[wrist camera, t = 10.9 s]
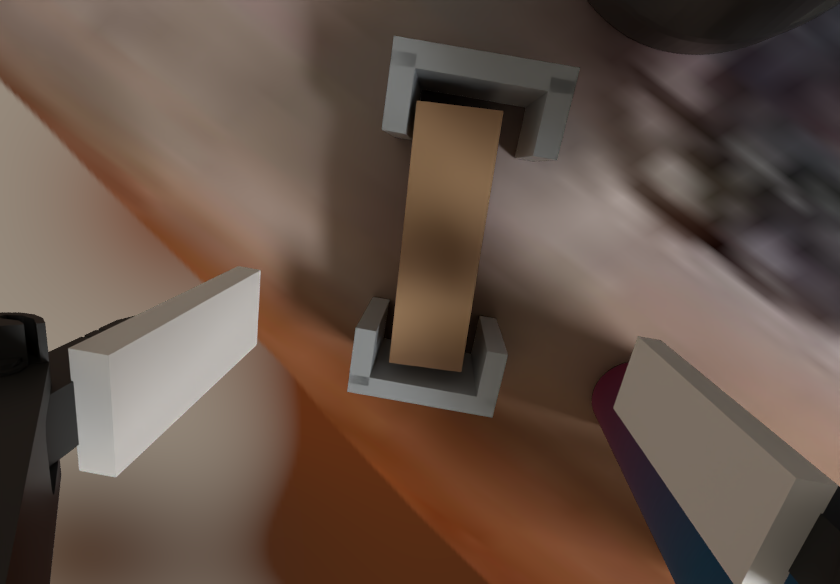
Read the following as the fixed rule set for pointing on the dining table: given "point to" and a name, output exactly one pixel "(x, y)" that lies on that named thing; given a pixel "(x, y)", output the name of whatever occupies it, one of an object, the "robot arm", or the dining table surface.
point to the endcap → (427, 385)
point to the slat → (443, 232)
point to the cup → (656, 495)
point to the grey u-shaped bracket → (481, 89)
